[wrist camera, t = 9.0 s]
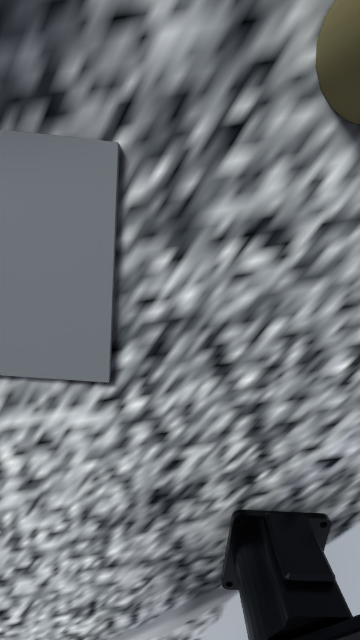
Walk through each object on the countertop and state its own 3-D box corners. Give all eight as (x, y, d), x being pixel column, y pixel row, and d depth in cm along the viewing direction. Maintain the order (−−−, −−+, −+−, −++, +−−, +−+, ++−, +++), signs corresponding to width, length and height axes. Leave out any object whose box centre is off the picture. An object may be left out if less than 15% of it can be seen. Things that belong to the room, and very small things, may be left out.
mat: (110, 377, 19) (108, 382, 19) (-35, 367, 19) (-42, 372, 18) (119, 145, 16) (118, 142, 15) (-58, 125, 15) (-67, 121, 15)
